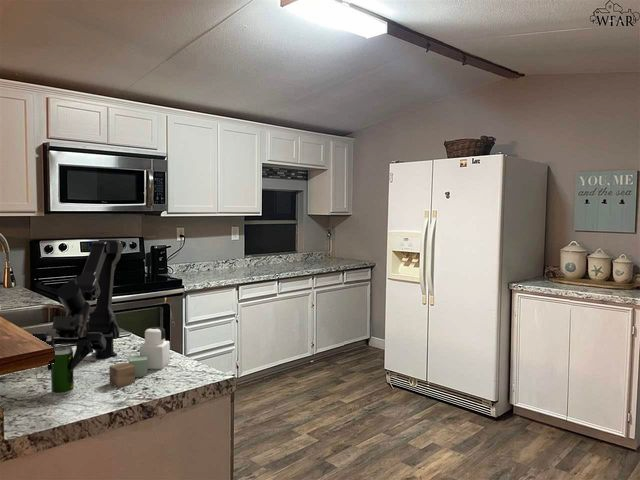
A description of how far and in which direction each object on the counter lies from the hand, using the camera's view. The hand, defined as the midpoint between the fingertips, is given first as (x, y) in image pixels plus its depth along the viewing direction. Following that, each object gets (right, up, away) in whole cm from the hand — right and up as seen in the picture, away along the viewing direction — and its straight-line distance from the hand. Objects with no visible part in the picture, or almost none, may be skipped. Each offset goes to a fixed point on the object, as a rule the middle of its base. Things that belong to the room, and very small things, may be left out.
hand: (59, 369), depth 133 cm
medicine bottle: (+17, -5, +25) cm, 31 cm away
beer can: (0, -7, +2) cm, 7 cm away
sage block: (+15, -6, +17) cm, 23 cm away
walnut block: (+13, -6, +9) cm, 17 cm away
